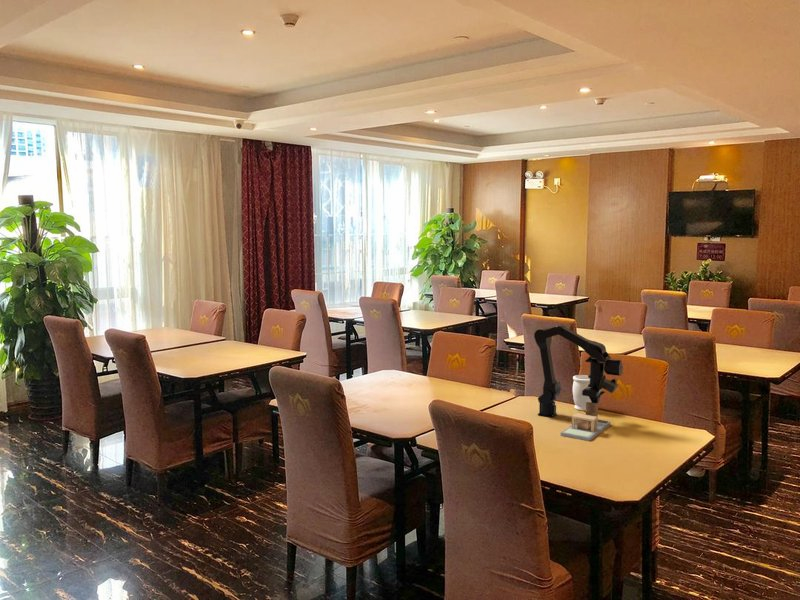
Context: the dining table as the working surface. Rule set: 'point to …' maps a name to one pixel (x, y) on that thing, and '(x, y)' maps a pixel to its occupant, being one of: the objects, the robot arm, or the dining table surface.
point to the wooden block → (590, 410)
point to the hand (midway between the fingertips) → (595, 408)
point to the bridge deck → (584, 434)
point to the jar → (580, 391)
